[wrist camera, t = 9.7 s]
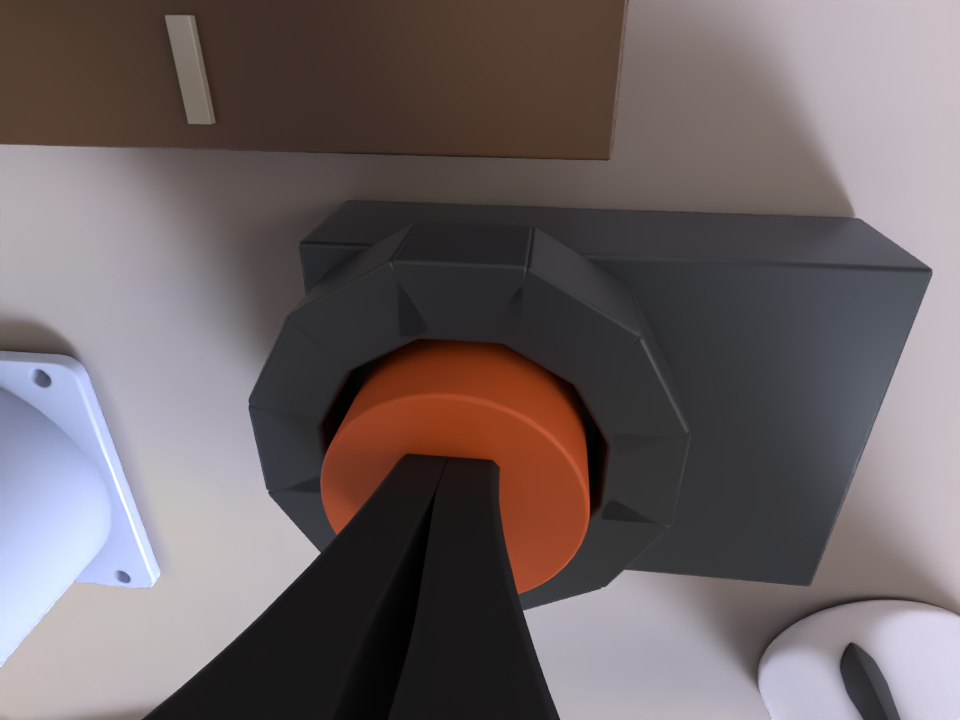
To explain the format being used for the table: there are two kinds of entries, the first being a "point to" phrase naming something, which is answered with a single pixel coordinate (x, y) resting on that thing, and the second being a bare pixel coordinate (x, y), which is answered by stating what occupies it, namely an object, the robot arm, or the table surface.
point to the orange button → (472, 442)
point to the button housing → (620, 364)
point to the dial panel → (315, 76)
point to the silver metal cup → (865, 664)
